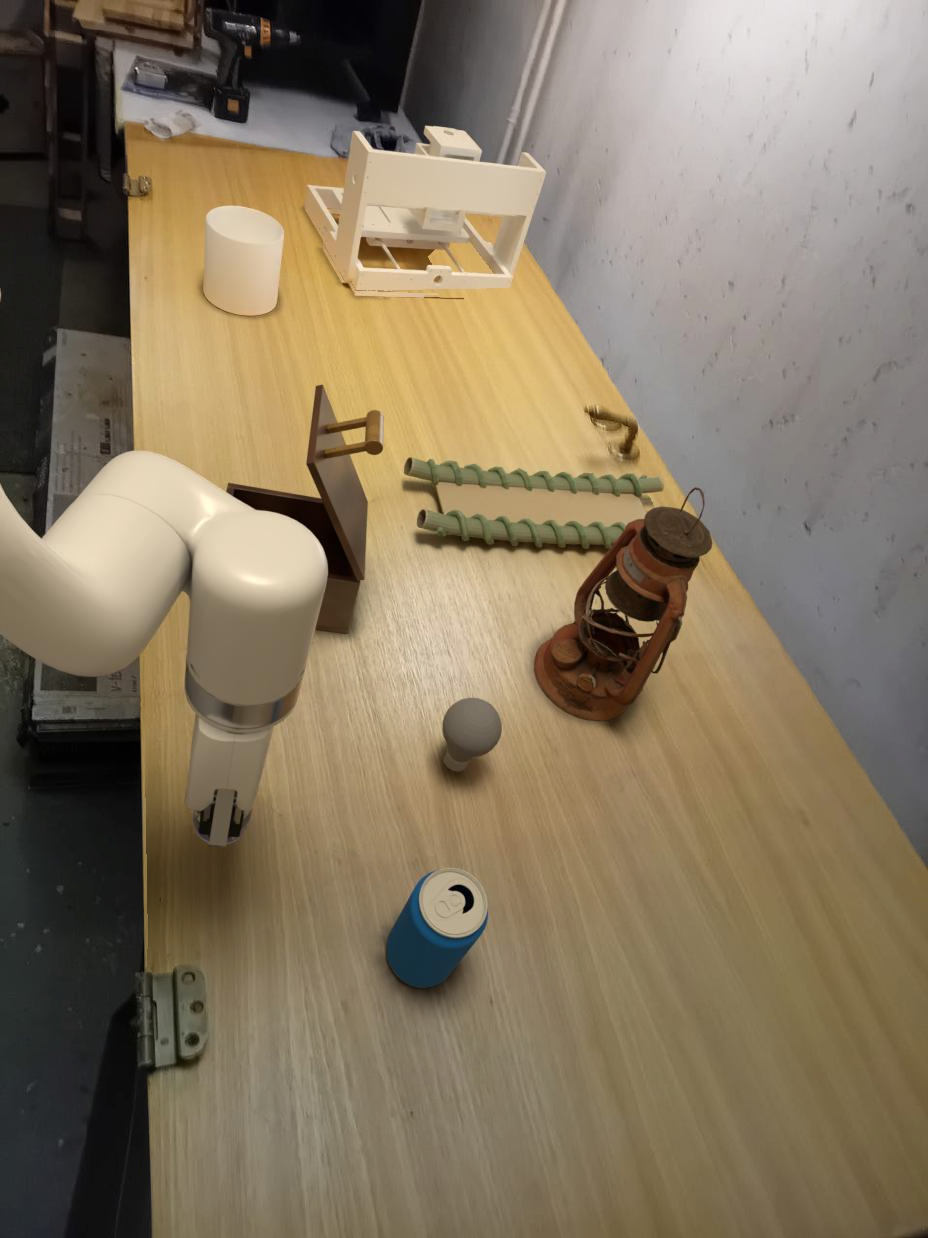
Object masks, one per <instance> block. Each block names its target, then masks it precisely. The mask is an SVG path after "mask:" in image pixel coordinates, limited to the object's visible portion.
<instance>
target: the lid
mask: <svg viewBox="0 0 928 1238" xmlns="http://www.w3.org/2000/svg"><path fill="white" fill-rule="evenodd" d="M313 397H314V398H313V404H312V405H313V406H312V413H311V422H310V431H309V439H308V446H307V447H308V448H307V452H306V453H307V455H306V461H305V464H306V467H307V470H308V471H309V474H310V476H311V478H312V481H313V482H314V485H315V487H316V489H317V492H318V494H319V496H320V497H319V498H321V499H322V501H323V503H324V506H325V508H326V510H327V512H328V515H329V517H330V519H331V522H332V524H333V526H334V528H335V531H336V533H337V535H338V538H339V540H340V542H341V544H342V547H343V549H344V551H345V554H346V556H347V558H348V560H349V563H350V565H351V567H352V569H353V572H354V574H355V576H356V579H357V581H360V582H361V581H365V576H366V575H365V574H366V555H367V554H366V552H367V534H368V533H367V532H368V531H367V529H368V507H369V501H368V498H367V496H366V493H365V490H364V488H363V485H362V483H361V481H360V477H359V474H358V473H357V472H358V471H357V470H356V467H355V464H354V462H353V459H352V457H351V455H353V454H359V453H364V452H366V453H367V454H369V455H371V456H378V455H380V454H381V453H382V452H383V449H384V435H385V434H384V431H385V430H384V429H385V416H384V413H382V412H381V411H380V410H378V409H372V410H370V411H368V412H367V413H366V416H365V417H360V418H354V419H350V420H344V421H339V422H338V420H337V417H336V414H335V412H334V409H333V406H332V405H331V401H330V399H329V396H328V394H327V391H326V387H325V386H324V384H317V385H315V390H314V396H313ZM361 428H365V430H364V441H362V442H357V443H351V444H346V441H345V438H344V435H343V434H342V432H346V431H351V430H356V429H361Z"/></svg>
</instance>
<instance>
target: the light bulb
mask: <svg viewBox="0 0 928 1238" xmlns="http://www.w3.org/2000/svg"><path fill="white" fill-rule="evenodd" d="M502 724H503V723H502V720H501V717H500V714H499V712H498V711H497V710H496V708H495V707H494V705H492V704H491V703H490V702H488V701H487V700H484V699H482V698H478V697H465V698H462V699H460V700H457V701H456V702H454V703H453V704H451V706H449V708H448V709H447V710H446V712H445V714H444V715H443V720H442V729H441V730H442V735H443V739H444V741H445V743H446V751H445V753H444V756H443V762H444V764H445V766H446V767H447V768H448V769H449V770H451V771H454V772H461V771H464V770H465V769H466V768H467V766H468V764H469V762H470V761H472V760H473V759H475V758H479V757H484V756H485V755H487V754H488V753H490V752H491V751H492V750H493V749H494V748H495V747H496V746H497V745H498V743H499V741H500V739H501V738H502V737H501V736H502V732H503V731H502V730H503V729H502V728H503V725H502Z"/></svg>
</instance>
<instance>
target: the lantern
mask: <svg viewBox="0 0 928 1238" xmlns="http://www.w3.org/2000/svg"><path fill="white" fill-rule="evenodd" d="M695 490H696V491H698V492H699V493H700V496H701V500H702V508H701V511H700V514H699V516H698V517H697V516H695V515H693V514H692V513H690V512H688V511H686V510H685V509H684V507H685V506H686V504H687V501H688V499H689V498H690V495H691V494H692V493H693V492H694V491H695ZM705 505H706V503H705V493H704V491H703V490H702V488H700V487H696V486H695V487H693V488H692V489H691V490H690V491H689V492H688V494H687V495H686V497H685V498H684V501H683V503H682V505H681V507H680V508H678V507H672V506H662V505H661V506H655V507H652V508H651V509H650V510H648V511H646V515H645V519H637V520H634V521H632V522H629V523H628V524H627V526H626V528H625V530H624V531H623V533H622V534H621V535H620V537H619V538H618V539H617V540H616V542H615V543H614V544H612V547H611V548H609V549H608V550H607V551H606V553H605V555H604V556H603V557H602V558H601V559H600V561H599V562H598V564H597V565H596V566H595V567H594V568H593V570H592V571H591V572H590V573H589V575H588V576H587V577H586V578H585V580H584V581H583V583H582V584H581V586H580V587H579V588H578V590H577V592H576V594H575V600H574V605H573V615H574V621H573V622H571V623H567V624H564V625H562V626H561V627H560V628H558V629H557V630H556V631H555V632H554V634H553V636H552V637H550V638H549V639H547V640H545V642H543V643H541V645H540V646H539V647H538V649H537V650H536V652H535V655H534V659H533V672H534V676H535V679H536V681H537V685H539V687H540V689H541V691H542V692H543V694H545V696H546V697H547V698H548V699H549V700H550V701H551V702H552V703H553V704H555V706H557V707H558V708H559V709H561V710H562V711H564V712H566V713H568V714H570V715H571V716H574V717H576V718H579V719H583V720H587V721H596V722H597V721H608V720H613V719H615V718H617V717H619V716H621V715H622V714H623V713H625V712H626V710H627V709H628V708H629V707H630V705H632V704H633V703H634V702H635V700H636V699H637V698H638V696H639V695H640V694H641V693H642V692H643V691H644V686H645V685H646V683H647V681H648V679H649V678H650V676H651V674H654V675H657V674H658V673H659V672H660V671H661V669H662V668H663V665H664V662H665V659H666V657H667V653H668V651H669V648H670V647H671V643H673V642H674V641H676V640H677V638H678V636H679V633H680V631H681V628H682V626H683V617H684V616H685V612H686V606H687V601H688V594H687V592H688V591H689V582H690V581H691V579H692V576H693V574H694V571H695V570H696V569H697V567H698V565H699V564H700V557H702V556H704V555H705V556H706V555H707V554H708V553H709V552H710V551H711V550H712V548H713V540H712V535H711V532H710V530H709V529H708V528H707V526H705V524H704V523H703V522H702V521H701V518H702V516H703V512H704V509H705ZM615 569H616V570H615ZM602 585H604V587H602ZM603 589H604V590H605V595H606V596H607V599H608V601H609V602H610V603H611V605H612V606H613V607H614V608H613V607H610V608H607V609H606V608H605V601H604V599H603V596H602V594H601V592H600V591H601V590H603ZM595 595H596V596H598V597H599V600H600V609H599V608H598V609H595V608H593V603H594V600H595ZM597 600H598V599H596V601H595V604H596V603H597ZM618 613H622V614H623V615H624V618H623V617H622V616H620V615H619V614H618ZM629 618H630V619H633V620H636V621H638V622H645V623H646V622H647V623H649V622H650V623H651V622H655V621H656V622H655V624H656V627H655V629H654V631H653V632H651V633H649V632H648V633H637V632H636V630H635V628H633V626H632V625H631V624H630V620H629ZM649 637H650V638H649ZM639 638H649V639H646V641H645V640H643V641H642V645H640V639H639ZM597 643H599V644H601V645H603V646H605V647H606V648H607V649H609V651H611V652H612V653H613V654H612V653H610V652H608V651H606V650H604V649H603V648H602V647H600V646H599V645H598V644H597ZM659 659H660V660H659ZM658 661H659V663H658ZM657 663H658V665H657ZM656 665H657V667H656ZM655 667H656V669H655ZM654 669H655V670H654Z"/></svg>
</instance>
